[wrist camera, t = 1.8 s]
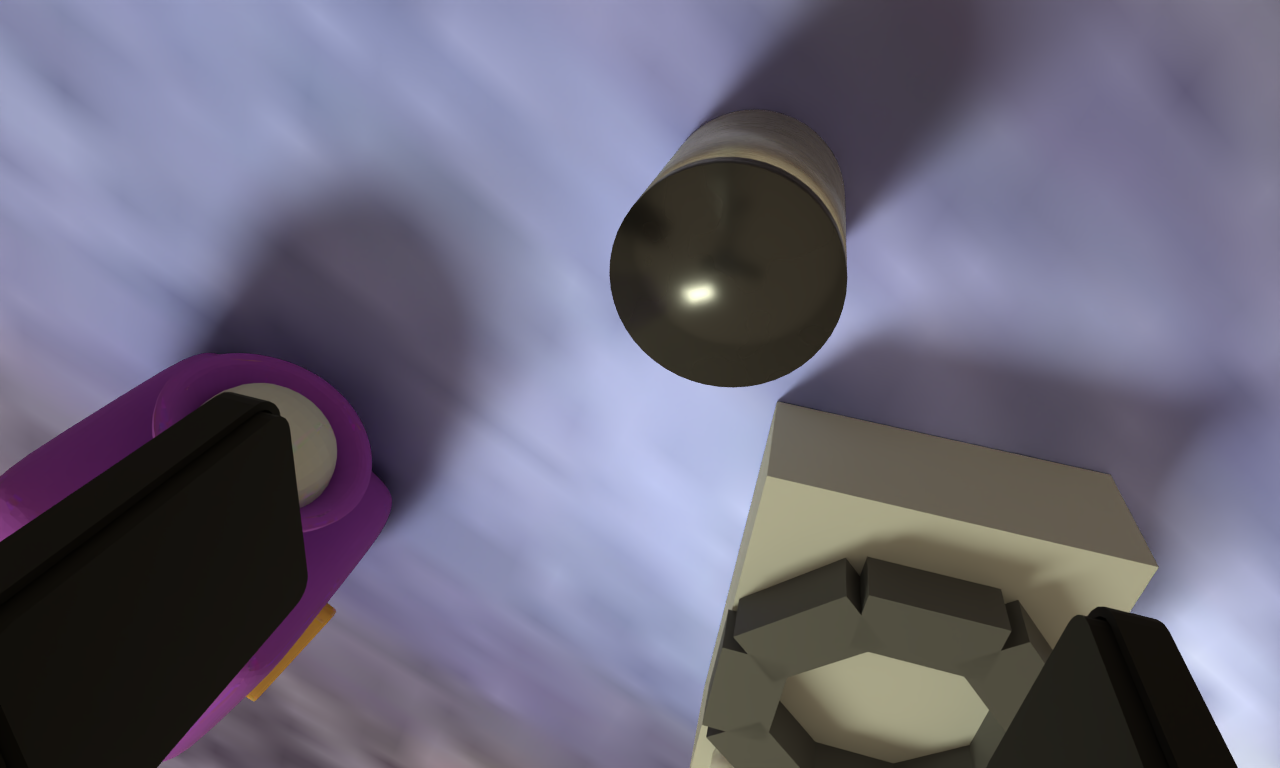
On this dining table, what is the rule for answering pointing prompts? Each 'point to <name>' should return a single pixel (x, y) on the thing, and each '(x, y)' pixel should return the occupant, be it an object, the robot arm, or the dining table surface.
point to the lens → (736, 252)
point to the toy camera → (325, 473)
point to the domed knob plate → (902, 596)
